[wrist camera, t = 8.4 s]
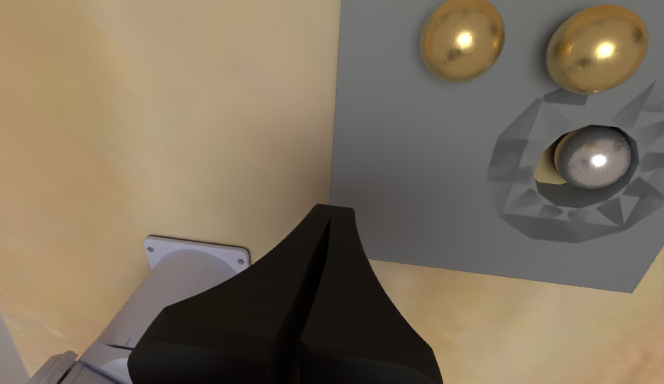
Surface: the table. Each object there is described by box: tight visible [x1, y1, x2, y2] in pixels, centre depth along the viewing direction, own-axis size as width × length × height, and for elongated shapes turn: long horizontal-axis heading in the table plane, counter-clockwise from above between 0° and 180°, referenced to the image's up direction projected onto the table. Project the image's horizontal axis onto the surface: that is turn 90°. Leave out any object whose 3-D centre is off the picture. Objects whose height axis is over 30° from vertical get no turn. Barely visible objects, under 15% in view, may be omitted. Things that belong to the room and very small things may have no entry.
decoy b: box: [546, 5, 649, 94], centre depth 14 cm, size 3×3×3 cm
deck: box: [330, 0, 664, 293], centre depth 20 cm, size 18×15×2 cm
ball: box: [554, 125, 631, 189], centre depth 19 cm, size 3×3×3 cm
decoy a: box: [419, 0, 505, 83], centre depth 15 cm, size 3×3×3 cm
